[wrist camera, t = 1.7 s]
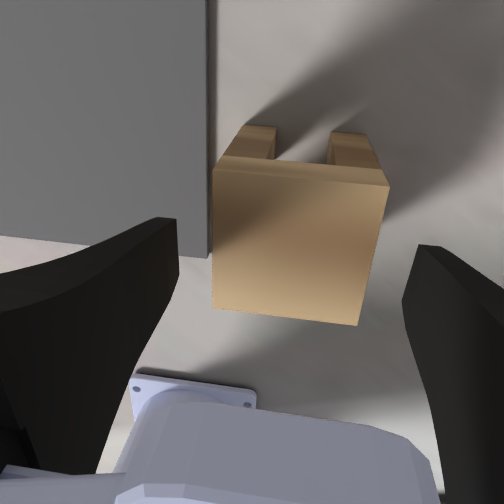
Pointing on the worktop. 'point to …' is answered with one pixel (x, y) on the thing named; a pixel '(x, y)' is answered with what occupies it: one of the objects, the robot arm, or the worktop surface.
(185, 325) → the worktop surface
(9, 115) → the mat
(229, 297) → the tan notched block
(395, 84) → the worktop surface
